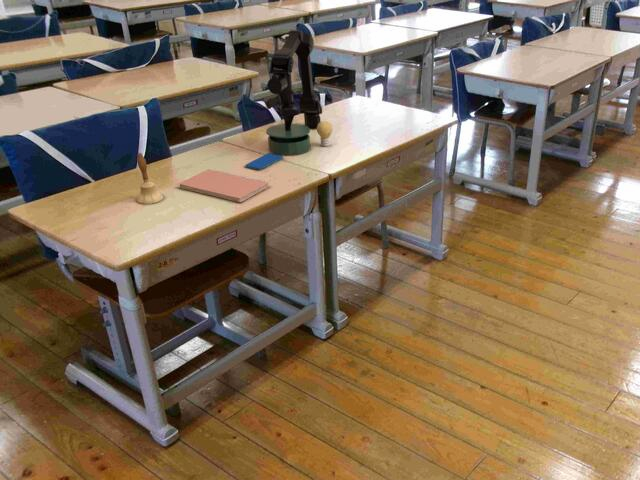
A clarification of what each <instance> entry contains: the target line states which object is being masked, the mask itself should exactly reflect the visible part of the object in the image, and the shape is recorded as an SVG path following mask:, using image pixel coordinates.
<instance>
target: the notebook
mask: <svg viewBox="0 0 640 480" xmlns="http://www.w3.org/2000/svg"><path fill="white" fill-rule="evenodd" d="M177 185H179V186H178V188H179V189H184V190H187V191H192V192H196V193H200V194H204V195H208V196H212V197H216V198H220V199H224V200H229V201H233V202H236V203H242V202H244V201H246V200H248V199H249V198H252V197H253V196H255V195H257V194H259V193H260V192H262V191H264V190H266V189H268V188H270V186H269V182H267V181H265V180H263V179H259V178H255V177H249V176H245V175H241V174H236V173H233V172H228V171H227V172H226V171H224V170H218V169H206V170H204V171H202V172H200V173H198V174H195V175H193V176H191V177H189V178H187V179H184V180H183V181H180V182H178V183H177Z"/></svg>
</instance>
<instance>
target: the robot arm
mask: <svg viewBox="0 0 640 480" xmlns="http://www.w3.org/2000/svg"><path fill="white" fill-rule="evenodd" d="M314 40H315V39H314V37H312V36H311V34H308V33H305V32H304V31H302V30H299V29H298V30H297V29H296V30H295V29H291V30H289V32H288V35H287V37H286V40H285V41H284V43H283V45H282V47H281V48H279V49H277V50H275V52H274V53H273V54H272V56H271V59H270V67H269V74H270V75H271V78H270V79H269V80H268V81H267V84H266V85H267V89H268V92H270V93H271V95H269V96H267V97H264V98H263V99H262V100H263V101H262V102H263V103H264V104H265V105H264V106H265V107H266V109H267V110H270V109H272V108H273V107H276V106H278V107H276V108H277V110H278V111H279V114H280V116H282V118H283V120H284V119H285V122H286V126H287V129H289V128H290V127H291V124H293V121H294V118H295V116H298V115H299V112H300V114H303V120H304V125H305V126H307V127H309V128H310V130H315V129H316V130H317V125H318V124H319V123H320V122H322V120H321V116H320V115H322V114H323V105H322V103H321V101H320V100H319V99H320V98H319V95H318V93H317V92H316V91H315V89H314V82H313V72H312V71H313V70H312V61H311V54H312V52H313V51H314V45H315V41H314ZM294 55H296V56H297V58H298V61H299V71H300V80H301V88H302V93H301V94H300V96H299V99H298V100H299V102H298V104H299V105H298V106H299V109H300V111H299V109H298V107H296V106H295V101H294V90H293V81H292V73H293V69H294V65H295V60H294Z"/></svg>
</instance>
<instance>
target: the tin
mask: <svg viewBox="0 0 640 480" xmlns="http://www.w3.org/2000/svg"><path fill="white" fill-rule="evenodd" d="M267 143H268V145H267V146H268V150H269V153H273V154H277V155H282V156H283V157H286V156H287V157H288V156H289V157H291V156H292V157H293V156H299V155H303V154H305V153H307V152H309V151H310V150H311V137H310V134H309V133H308V134H307V135H305V136H301V137H297V138H275V137H271V136H269V135H268V136H267Z"/></svg>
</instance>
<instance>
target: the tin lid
mask: <svg viewBox="0 0 640 480" xmlns="http://www.w3.org/2000/svg"><path fill="white" fill-rule="evenodd" d="M283 121H284V123H281V124H275V125H272V126H269V127H267V128H266V129H265V134H266V135H267V136H268V137H269V136H271V137H275V138H297V137H301V136H305V135H307V134H308V135H309V134H310V132H311V129H310V128H309V127H307V126H305V124H300V123H292V124H291V127H290V128H289V129H287V126H286V122H285V119H284V118H283Z"/></svg>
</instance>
